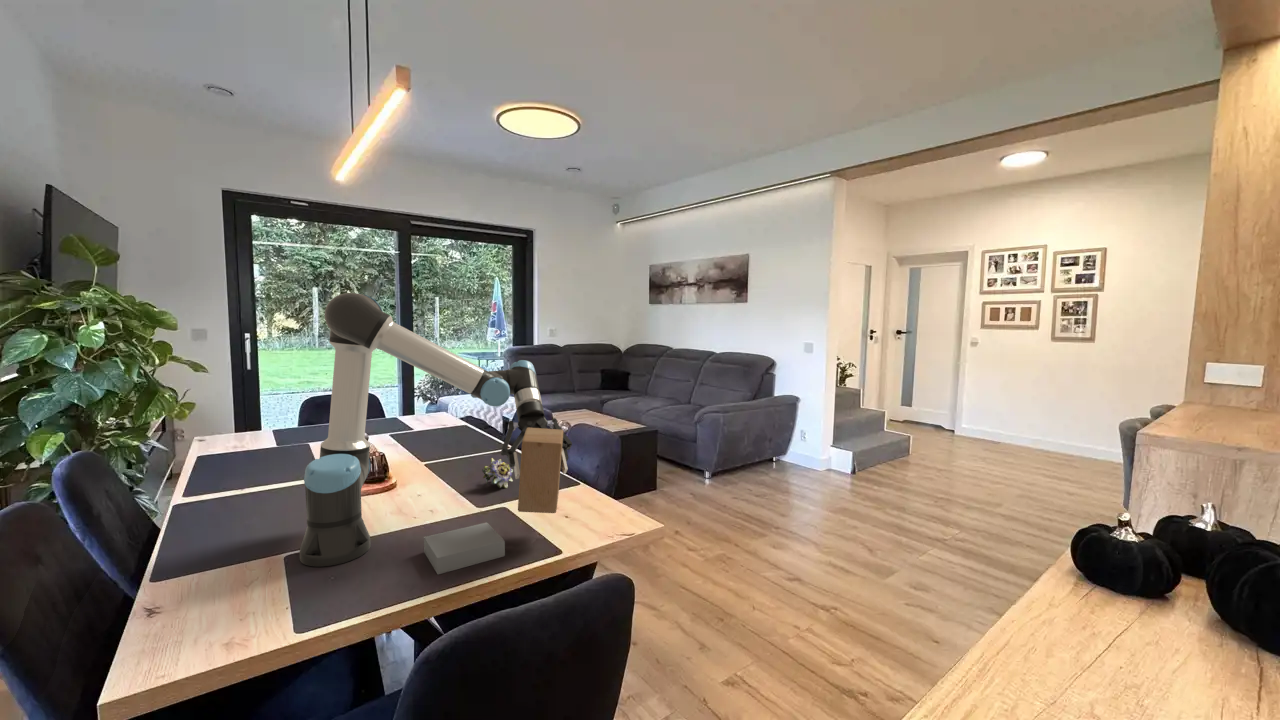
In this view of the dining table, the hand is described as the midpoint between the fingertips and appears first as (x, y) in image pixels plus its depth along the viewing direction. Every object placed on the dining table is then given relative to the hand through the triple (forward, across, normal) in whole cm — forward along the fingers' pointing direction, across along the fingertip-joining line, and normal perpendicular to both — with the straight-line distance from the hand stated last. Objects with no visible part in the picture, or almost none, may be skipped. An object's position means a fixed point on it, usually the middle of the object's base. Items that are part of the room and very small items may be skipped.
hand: (542, 474), depth 134 cm
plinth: (+14, +20, -12) cm, 27 cm away
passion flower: (-19, +4, -45) cm, 49 cm away
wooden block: (+5, 0, -8) cm, 9 cm away
